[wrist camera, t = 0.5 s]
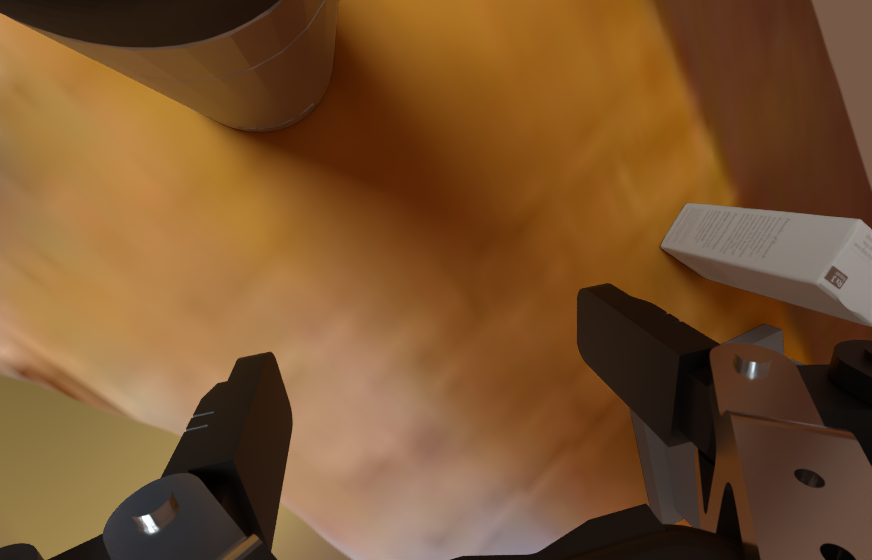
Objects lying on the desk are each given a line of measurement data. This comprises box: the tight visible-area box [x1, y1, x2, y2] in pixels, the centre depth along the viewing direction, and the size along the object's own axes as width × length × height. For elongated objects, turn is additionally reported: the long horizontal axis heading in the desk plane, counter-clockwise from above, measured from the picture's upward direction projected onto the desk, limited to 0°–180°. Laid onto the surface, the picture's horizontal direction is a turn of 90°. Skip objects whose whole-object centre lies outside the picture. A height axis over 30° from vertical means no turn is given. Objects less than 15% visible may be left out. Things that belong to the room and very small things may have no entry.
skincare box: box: [660, 203, 872, 326], centre depth 29 cm, size 6×4×12 cm
